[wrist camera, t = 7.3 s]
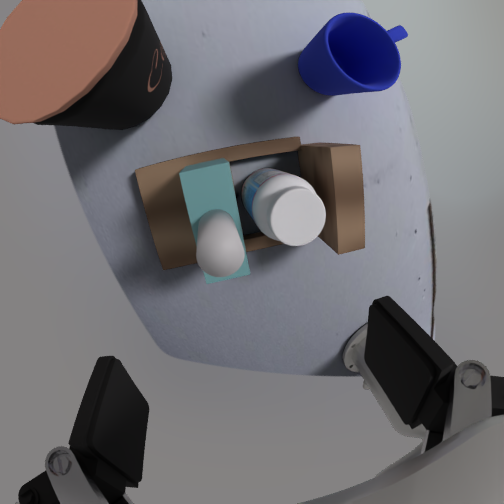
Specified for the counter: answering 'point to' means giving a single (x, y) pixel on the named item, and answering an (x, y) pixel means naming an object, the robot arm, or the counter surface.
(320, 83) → the mug
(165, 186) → the wooden tray
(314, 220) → the pill bottle
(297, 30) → the counter surface
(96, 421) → the robot arm
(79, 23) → the coffee jar
